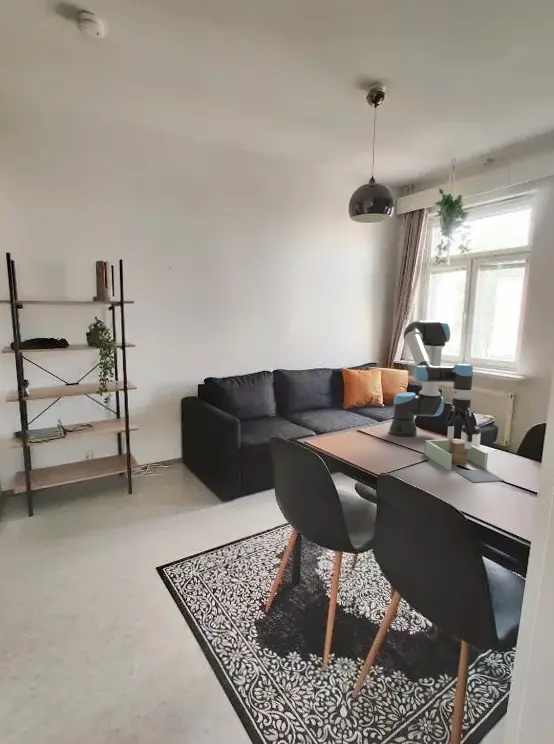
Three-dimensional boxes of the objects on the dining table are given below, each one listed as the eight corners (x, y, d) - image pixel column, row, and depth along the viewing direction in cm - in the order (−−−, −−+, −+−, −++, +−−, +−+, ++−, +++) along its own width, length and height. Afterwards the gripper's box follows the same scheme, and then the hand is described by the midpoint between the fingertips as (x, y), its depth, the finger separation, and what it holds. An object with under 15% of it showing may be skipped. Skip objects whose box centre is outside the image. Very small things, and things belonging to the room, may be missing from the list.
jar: (456, 448, 208) (458, 425, 207) (469, 446, 211) (471, 424, 209) (469, 453, 200) (471, 430, 198) (482, 452, 202) (484, 428, 201)
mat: (455, 471, 176) (455, 470, 176) (485, 470, 178) (485, 469, 178) (472, 482, 164) (472, 481, 164) (504, 481, 166) (504, 480, 166)
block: (448, 461, 189) (449, 440, 188) (459, 460, 190) (461, 440, 189) (454, 465, 184) (455, 443, 183) (466, 464, 185) (467, 443, 184)
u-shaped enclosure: (424, 454, 199) (424, 440, 198) (458, 452, 201) (459, 438, 200) (448, 470, 178) (449, 454, 177) (486, 468, 181) (487, 453, 180)
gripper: (439, 393, 195) (436, 436, 197) (471, 403, 170) (467, 452, 173) (453, 393, 196) (450, 436, 198) (487, 403, 171) (484, 452, 174)
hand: (458, 444), depth 185 cm, fingers open, 13 cm apart
